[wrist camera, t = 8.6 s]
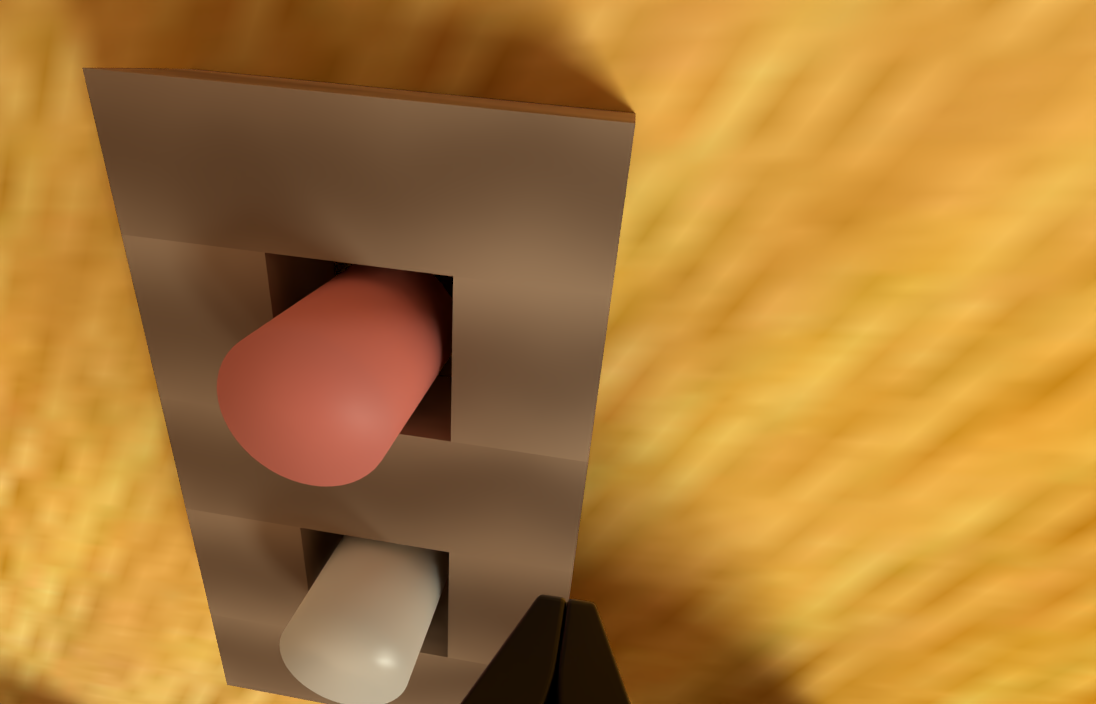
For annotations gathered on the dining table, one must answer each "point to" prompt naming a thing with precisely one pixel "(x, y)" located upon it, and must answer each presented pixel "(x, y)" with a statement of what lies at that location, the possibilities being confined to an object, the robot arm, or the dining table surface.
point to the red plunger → (337, 374)
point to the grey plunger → (365, 620)
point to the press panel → (390, 242)
